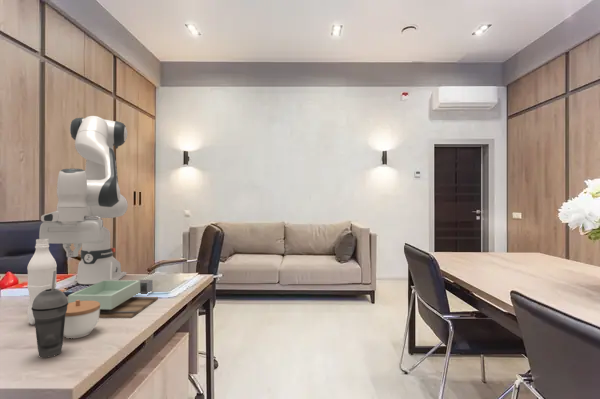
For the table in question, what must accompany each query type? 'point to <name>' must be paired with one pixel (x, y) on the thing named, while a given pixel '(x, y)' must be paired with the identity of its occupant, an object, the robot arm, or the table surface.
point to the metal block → (146, 286)
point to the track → (128, 308)
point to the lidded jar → (81, 318)
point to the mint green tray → (107, 293)
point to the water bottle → (40, 273)
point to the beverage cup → (50, 320)
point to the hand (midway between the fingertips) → (72, 256)
